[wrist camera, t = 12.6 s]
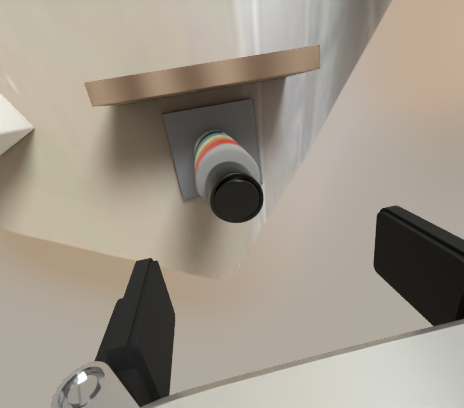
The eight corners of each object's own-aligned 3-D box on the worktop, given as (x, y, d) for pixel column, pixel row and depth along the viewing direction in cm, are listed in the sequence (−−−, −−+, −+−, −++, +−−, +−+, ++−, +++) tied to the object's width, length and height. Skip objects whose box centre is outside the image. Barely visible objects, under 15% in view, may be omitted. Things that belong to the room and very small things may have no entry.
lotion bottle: (240, 138, 36) (292, 177, 18) (226, 175, 38) (258, 247, 19) (202, 122, 35) (213, 148, 16) (188, 162, 36) (184, 226, 18)
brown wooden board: (285, 60, 34) (319, 45, 25) (286, 76, 35) (320, 68, 25) (114, 87, 32) (84, 82, 23) (120, 104, 33) (92, 106, 24)
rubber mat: (251, 98, 35) (252, 98, 34) (261, 182, 40) (262, 183, 39) (162, 114, 34) (162, 114, 33) (183, 197, 39) (183, 199, 38)
